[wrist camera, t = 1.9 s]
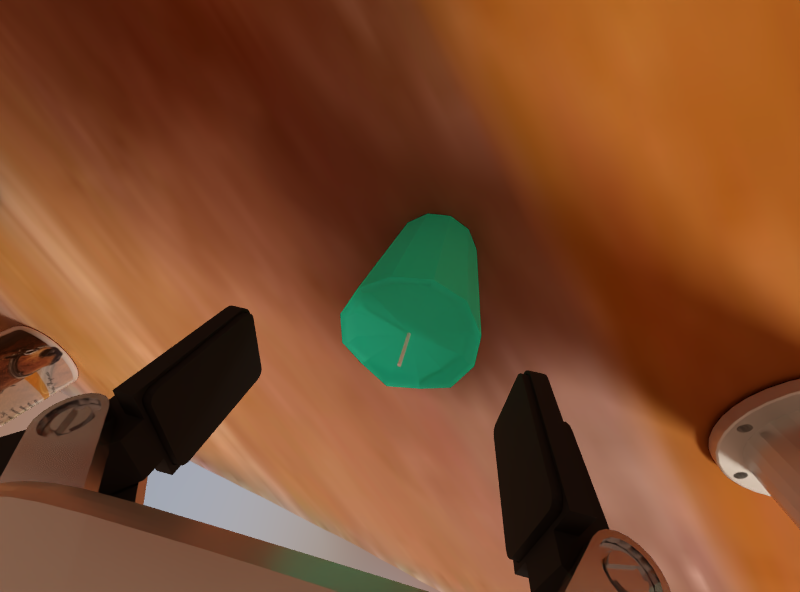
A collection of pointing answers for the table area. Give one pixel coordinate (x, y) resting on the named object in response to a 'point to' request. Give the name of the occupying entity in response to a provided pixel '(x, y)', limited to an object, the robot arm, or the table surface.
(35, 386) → the mug
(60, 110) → the table surface
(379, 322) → the candle
